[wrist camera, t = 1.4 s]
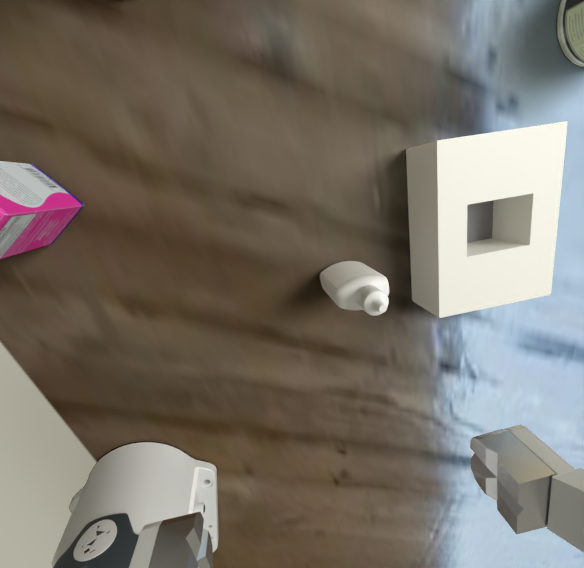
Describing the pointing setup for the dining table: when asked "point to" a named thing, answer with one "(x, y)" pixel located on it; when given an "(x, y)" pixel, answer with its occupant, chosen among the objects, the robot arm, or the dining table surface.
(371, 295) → the white plastic bottle
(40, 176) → the supplement box
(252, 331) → the dining table surface
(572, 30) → the coffee can
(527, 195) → the holder block
